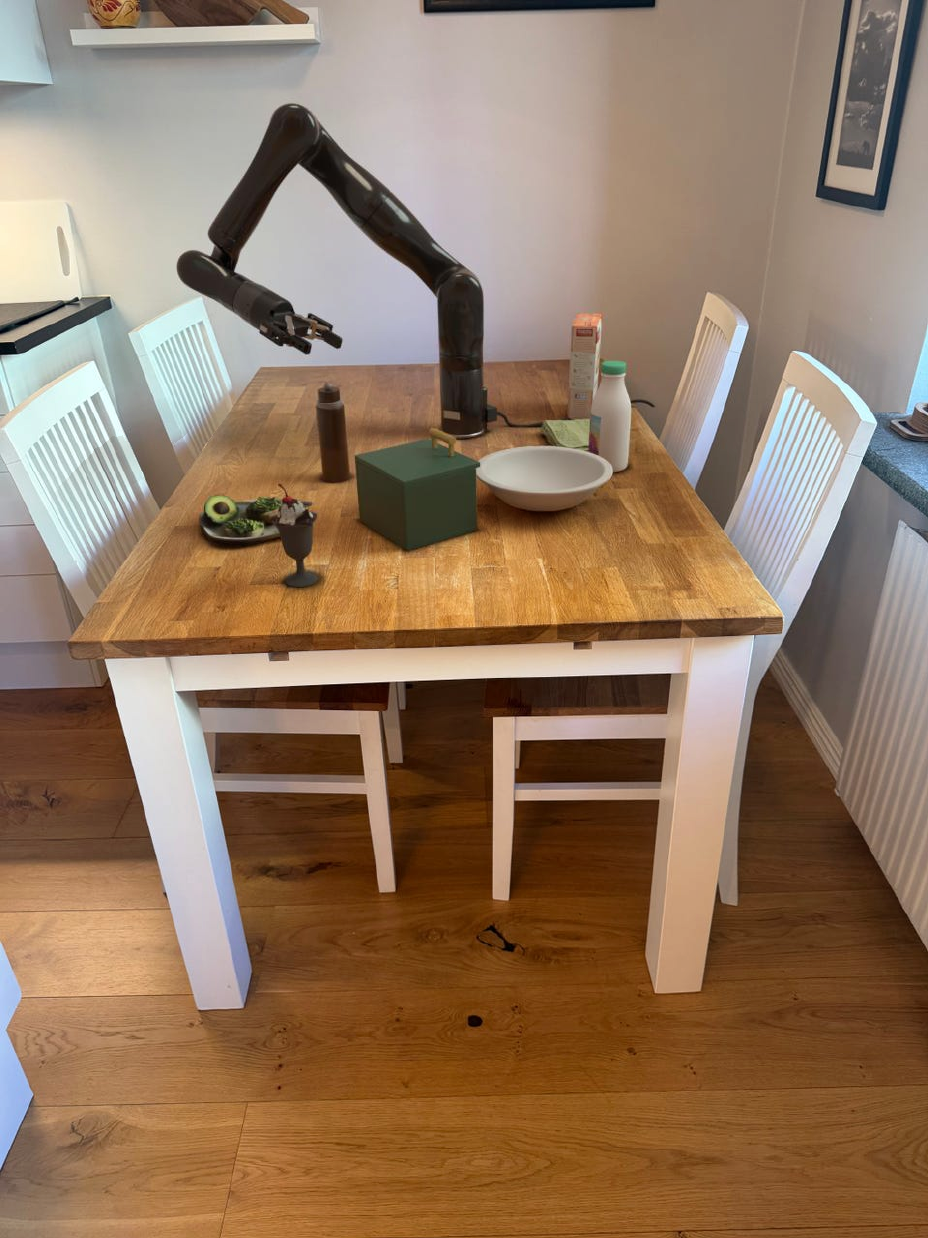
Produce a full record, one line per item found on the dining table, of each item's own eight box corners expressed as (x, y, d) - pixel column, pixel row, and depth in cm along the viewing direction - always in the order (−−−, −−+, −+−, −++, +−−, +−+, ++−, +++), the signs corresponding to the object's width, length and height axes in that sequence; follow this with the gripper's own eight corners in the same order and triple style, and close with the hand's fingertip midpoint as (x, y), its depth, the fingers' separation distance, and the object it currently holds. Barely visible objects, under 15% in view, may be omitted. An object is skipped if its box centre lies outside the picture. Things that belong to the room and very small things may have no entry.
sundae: (280, 571, 141) (268, 478, 133) (325, 569, 141) (315, 476, 134) (276, 591, 135) (264, 495, 128) (322, 588, 135) (312, 492, 128)
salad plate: (300, 496, 168) (298, 472, 166) (330, 532, 154) (327, 506, 151) (193, 515, 161) (188, 490, 159) (213, 554, 147) (209, 527, 144)
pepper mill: (341, 471, 180) (333, 376, 171) (354, 478, 176) (347, 382, 167) (318, 476, 177) (308, 381, 168) (330, 484, 173) (321, 387, 164)
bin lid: (427, 442, 160) (426, 418, 158) (480, 467, 148) (480, 441, 146) (354, 459, 152) (352, 435, 150) (404, 486, 141) (402, 460, 139)
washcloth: (560, 459, 183) (560, 443, 182) (538, 432, 198) (538, 418, 197) (623, 454, 185) (624, 439, 183) (596, 428, 200) (597, 414, 199)
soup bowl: (607, 534, 151) (609, 496, 148) (463, 525, 155) (462, 488, 152) (613, 482, 171) (615, 448, 168) (486, 476, 175) (486, 442, 172)
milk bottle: (630, 462, 181) (638, 359, 171) (623, 475, 175) (631, 369, 165) (592, 458, 183) (597, 356, 174) (583, 471, 177) (588, 366, 167)
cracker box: (593, 422, 204) (598, 325, 194) (566, 421, 205) (569, 324, 195) (598, 404, 216) (603, 312, 206) (572, 403, 217) (576, 311, 207)
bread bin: (426, 502, 164) (423, 443, 159) (477, 530, 153) (476, 468, 148) (359, 520, 158) (354, 460, 152) (407, 551, 146) (404, 486, 141)
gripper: (238, 292, 168) (303, 331, 162) (292, 287, 178) (355, 323, 173) (232, 331, 172) (295, 370, 167) (285, 323, 183) (345, 360, 177)
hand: (325, 346), depth 170 cm, fingers open, 8 cm apart
